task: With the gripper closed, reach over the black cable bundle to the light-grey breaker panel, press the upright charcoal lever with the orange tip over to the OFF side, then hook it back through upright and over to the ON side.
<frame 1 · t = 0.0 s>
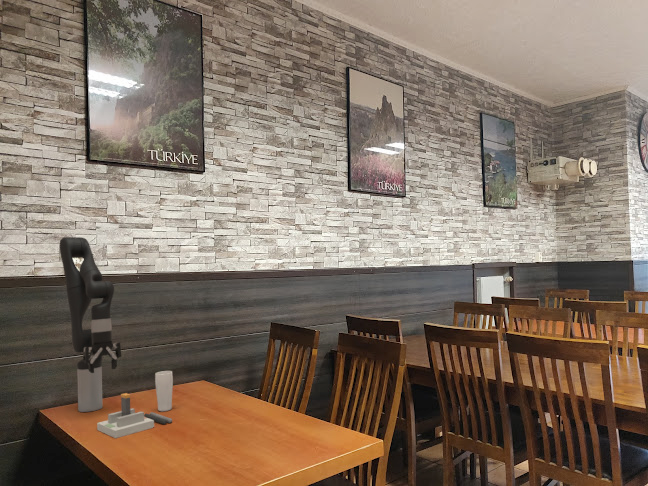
hand: (103, 370, 197), 17 cm above the table, tool pointing down, fingers open, 8 cm apart
breaker panel: (125, 428, 176), on the table
lever: (125, 406, 176), point 8 cm above the table, hinge at 0.0°
drinking glass: (164, 410, 199), on the table
cable bundle: (155, 421, 184), on the table
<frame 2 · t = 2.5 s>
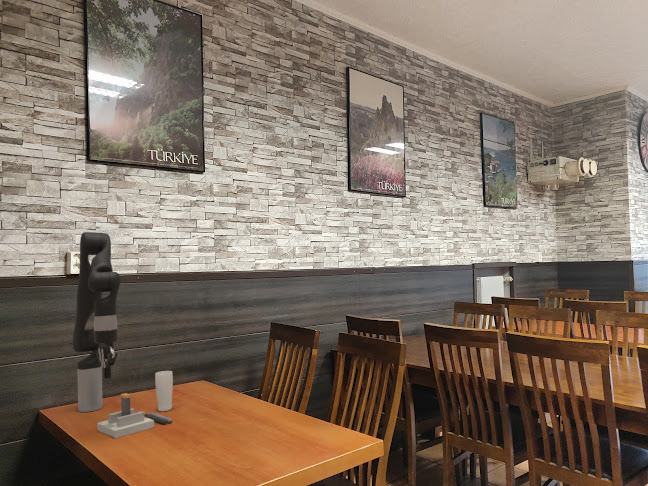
hand: (106, 378, 172), 19 cm above the table, tool pointing down, fingers closed
nothing on the table moved.
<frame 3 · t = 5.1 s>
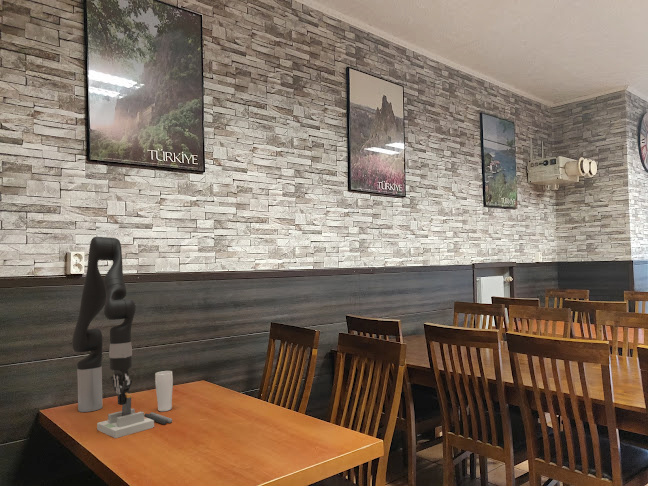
hand: (121, 404, 175), 9 cm above the table, tool pointing down, fingers closed
lever: (126, 406, 177), point 8 cm above the table, hinge at -4.0°, touching gripper
everything else where it was.
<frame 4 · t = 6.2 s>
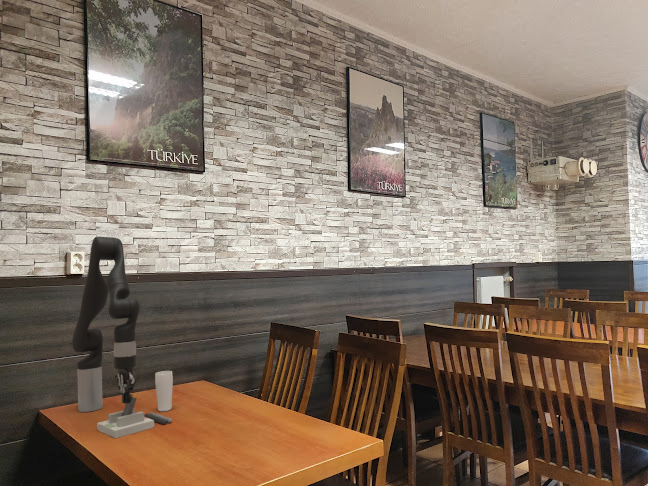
hand: (125, 402, 176), 9 cm above the table, tool pointing down, fingers closed
lever: (129, 406, 177), point 8 cm above the table, hinge at -20.2°
everything else where it was.
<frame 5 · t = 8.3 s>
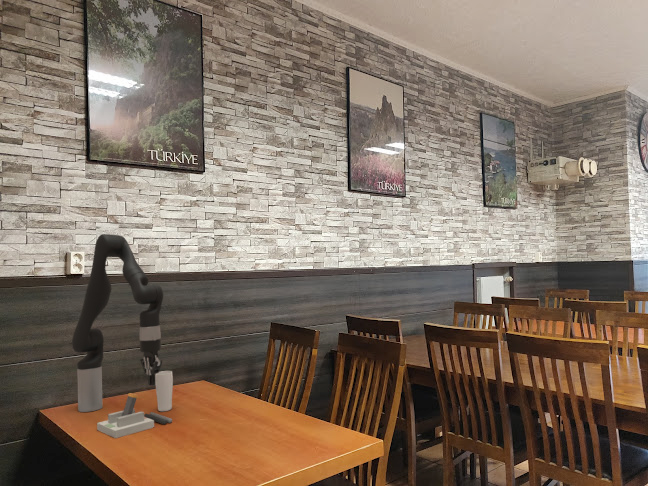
hand: (151, 384, 184), 14 cm above the table, tool pointing down, fingers closed
lever: (129, 406, 177), point 8 cm above the table, hinge at -20.5°
everything else where it was.
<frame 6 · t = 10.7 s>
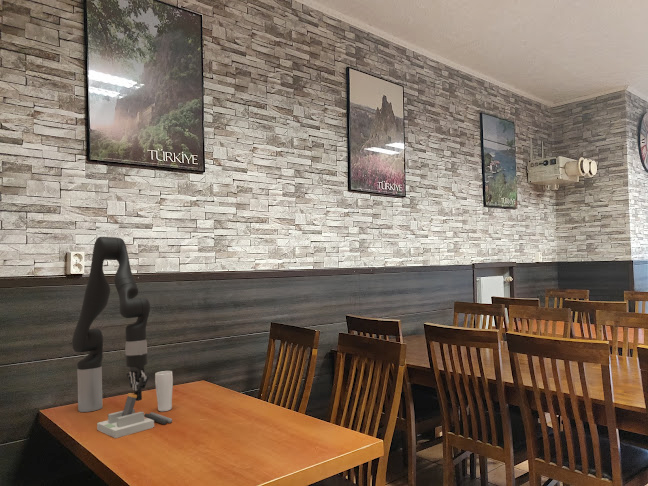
hand: (138, 400, 180), 9 cm above the table, tool pointing down, fingers closed
lever: (129, 406, 177), point 8 cm above the table, hinge at -19.2°, touching gripper
everything else where it was.
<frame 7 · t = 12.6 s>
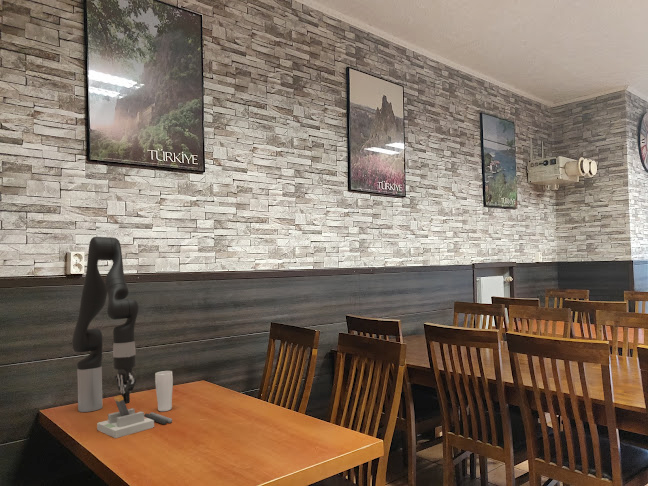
hand: (125, 403, 176), 9 cm above the table, tool pointing down, fingers closed
lever: (122, 408, 175), point 8 cm above the table, hinge at 18.7°, touching gripper
everything else where it was.
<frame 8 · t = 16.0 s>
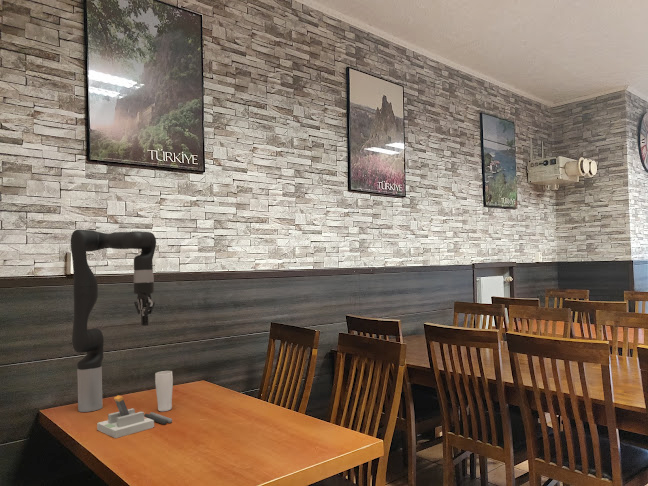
hand: (144, 325, 194), 35 cm above the table, tool pointing down, fingers closed
lever: (122, 408, 175), point 8 cm above the table, hinge at 19.2°
everything else where it was.
at the end: lever at +19° (first picture: +0°); lever tilted 19° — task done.
